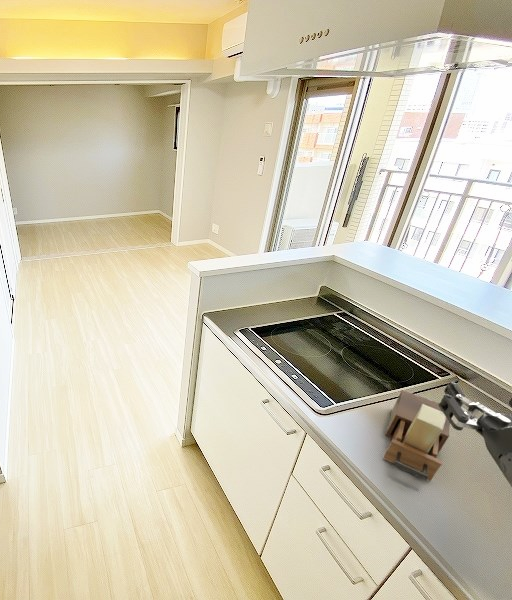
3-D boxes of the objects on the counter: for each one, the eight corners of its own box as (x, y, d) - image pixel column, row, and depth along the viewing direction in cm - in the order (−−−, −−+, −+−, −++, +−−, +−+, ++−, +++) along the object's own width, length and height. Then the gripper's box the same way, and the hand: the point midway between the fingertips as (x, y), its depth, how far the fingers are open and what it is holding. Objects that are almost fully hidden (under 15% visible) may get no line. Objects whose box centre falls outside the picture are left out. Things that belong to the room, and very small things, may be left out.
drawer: (428, 494, 70) (440, 477, 67) (380, 470, 75) (389, 453, 72) (433, 450, 79) (444, 433, 76) (390, 431, 84) (398, 415, 81)
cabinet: (435, 458, 78) (449, 436, 74) (385, 435, 84) (395, 414, 80) (438, 428, 85) (451, 407, 82) (391, 410, 91) (402, 389, 88)
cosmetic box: (402, 438, 81) (422, 402, 75) (425, 449, 78) (448, 412, 72) (395, 454, 77) (416, 417, 71) (419, 466, 74) (443, 429, 68)
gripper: (635, 470, 41) (549, 386, 54) (484, 435, 47) (439, 366, 60) (596, 505, 45) (524, 418, 58) (460, 468, 50) (422, 397, 63)
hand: (481, 392), depth 59 cm, fingers open, 8 cm apart
